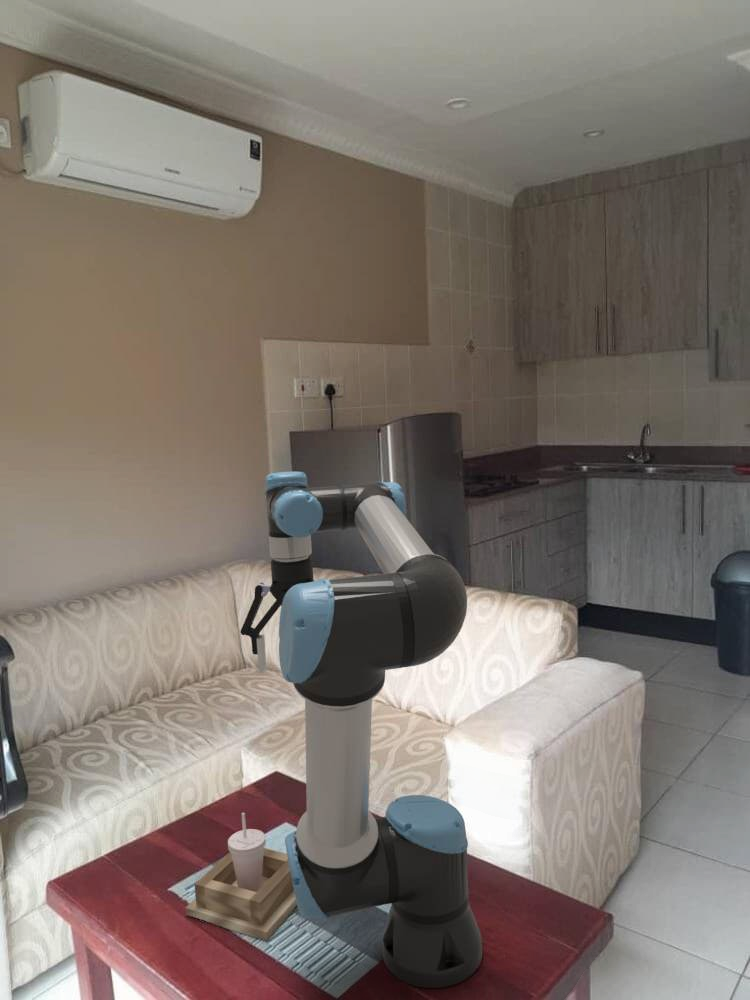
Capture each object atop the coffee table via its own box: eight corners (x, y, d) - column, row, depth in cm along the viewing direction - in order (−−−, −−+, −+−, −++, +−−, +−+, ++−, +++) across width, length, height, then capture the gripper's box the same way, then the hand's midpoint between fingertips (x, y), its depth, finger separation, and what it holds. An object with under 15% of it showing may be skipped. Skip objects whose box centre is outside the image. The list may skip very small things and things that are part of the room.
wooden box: (314, 885, 136) (312, 856, 135) (266, 940, 123) (264, 908, 122) (239, 865, 143) (236, 837, 142) (186, 916, 130) (183, 885, 129)
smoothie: (257, 875, 137) (252, 800, 135) (276, 892, 132) (271, 815, 130) (224, 891, 133) (218, 814, 131) (243, 909, 128) (237, 829, 126)
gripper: (362, 551, 143) (368, 662, 146) (230, 555, 146) (238, 664, 149) (357, 559, 136) (363, 676, 139) (218, 563, 139) (227, 678, 141)
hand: (298, 670), depth 144 cm, fingers open, 13 cm apart
